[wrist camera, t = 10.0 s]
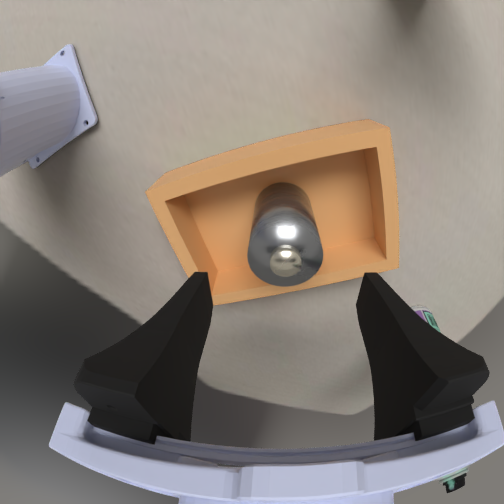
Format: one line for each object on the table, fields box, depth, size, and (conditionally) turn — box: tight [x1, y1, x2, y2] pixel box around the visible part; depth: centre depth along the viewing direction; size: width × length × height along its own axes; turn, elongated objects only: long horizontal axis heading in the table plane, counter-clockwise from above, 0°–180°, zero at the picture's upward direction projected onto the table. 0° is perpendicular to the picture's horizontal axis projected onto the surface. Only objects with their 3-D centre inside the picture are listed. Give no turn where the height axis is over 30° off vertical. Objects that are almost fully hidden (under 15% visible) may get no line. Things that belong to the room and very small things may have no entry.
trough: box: [145, 119, 399, 306], centre depth 19 cm, size 15×10×4 cm, turn 107°
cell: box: [247, 182, 323, 287], centre depth 17 cm, size 4×4×7 cm
